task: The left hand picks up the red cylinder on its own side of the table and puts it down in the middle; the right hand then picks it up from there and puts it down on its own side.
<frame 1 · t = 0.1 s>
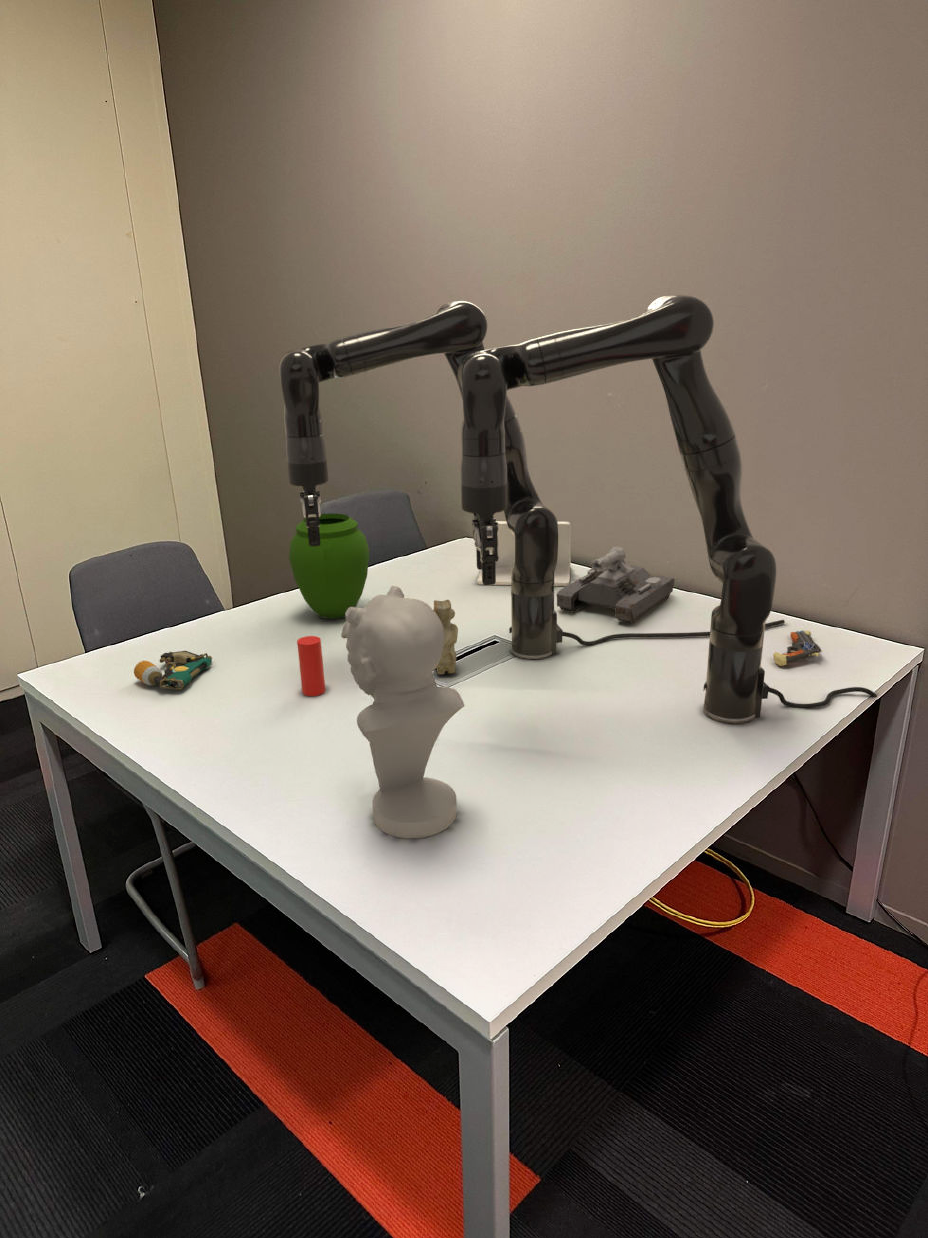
left hand: (314, 540, 170), 29 cm above the table, tool pointing down, fingers open, 8 cm apart
right hand: (486, 576, 144), 29 cm above the table, tool pointing down, fingers open, 8 cm apart
tablet stand: (525, 575, 239), on the table
spray gun: (177, 676, 181), on the table
red cylinder: (313, 691, 172), on the table
toy gun: (793, 652, 184), on the table
sculpture: (445, 671, 180), on the table
toy: (615, 605, 214), on the table
bust sculpture: (396, 807, 132), on the table
vase: (334, 614, 214), on the table
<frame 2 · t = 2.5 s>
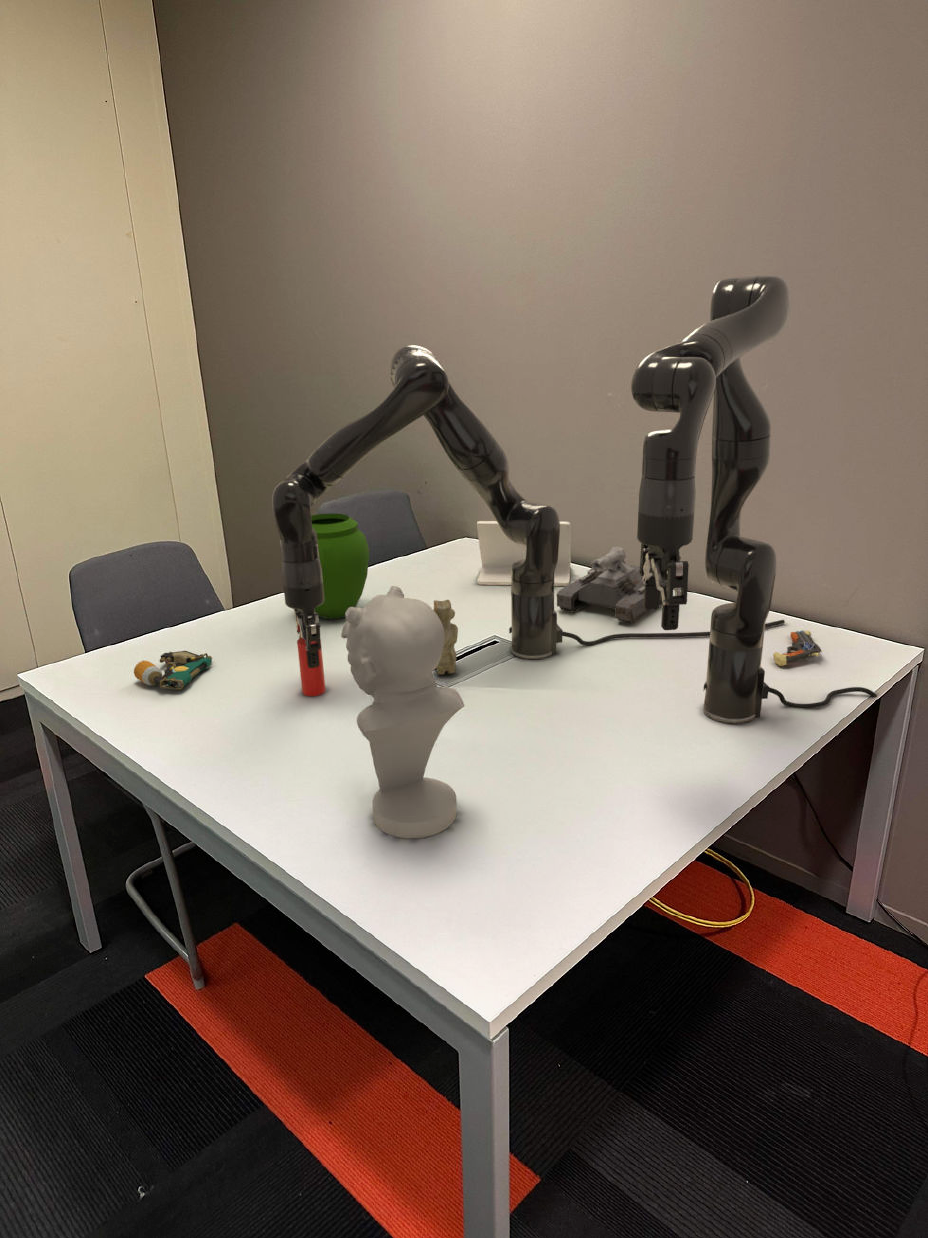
left hand: (311, 661, 170), 7 cm above the table, tool pointing down, fingers closed on red cylinder, 4 cm apart
right hand: (660, 618, 123), 29 cm above the table, tool pointing down, fingers open, 8 cm apart
red cylinder: (313, 691, 172), on the table, touching left hand
everything else where it was.
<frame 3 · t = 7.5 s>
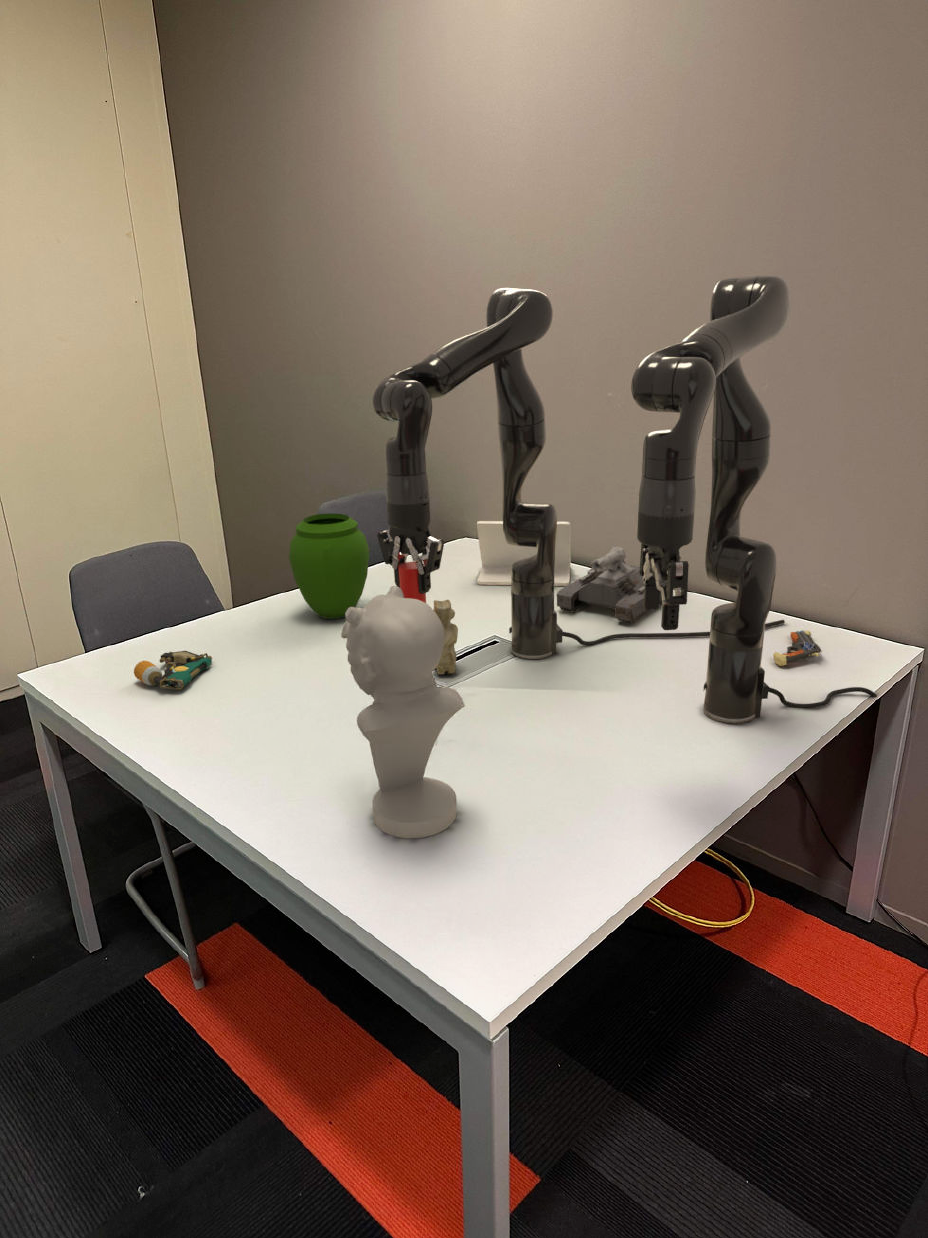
left hand: (413, 589, 155), 24 cm above the table, tool pointing down, fingers closed on red cylinder, 4 cm apart
right hand: (660, 618, 123), 29 cm above the table, tool pointing down, fingers open, 8 cm apart
red cylinder: (414, 623, 157), point 18 cm above the table, touching left hand
everything else where it was.
when the left hand's fingers open (8 cm above the table, at t = 12.4 s): red cylinder drops 2 cm, on the table.
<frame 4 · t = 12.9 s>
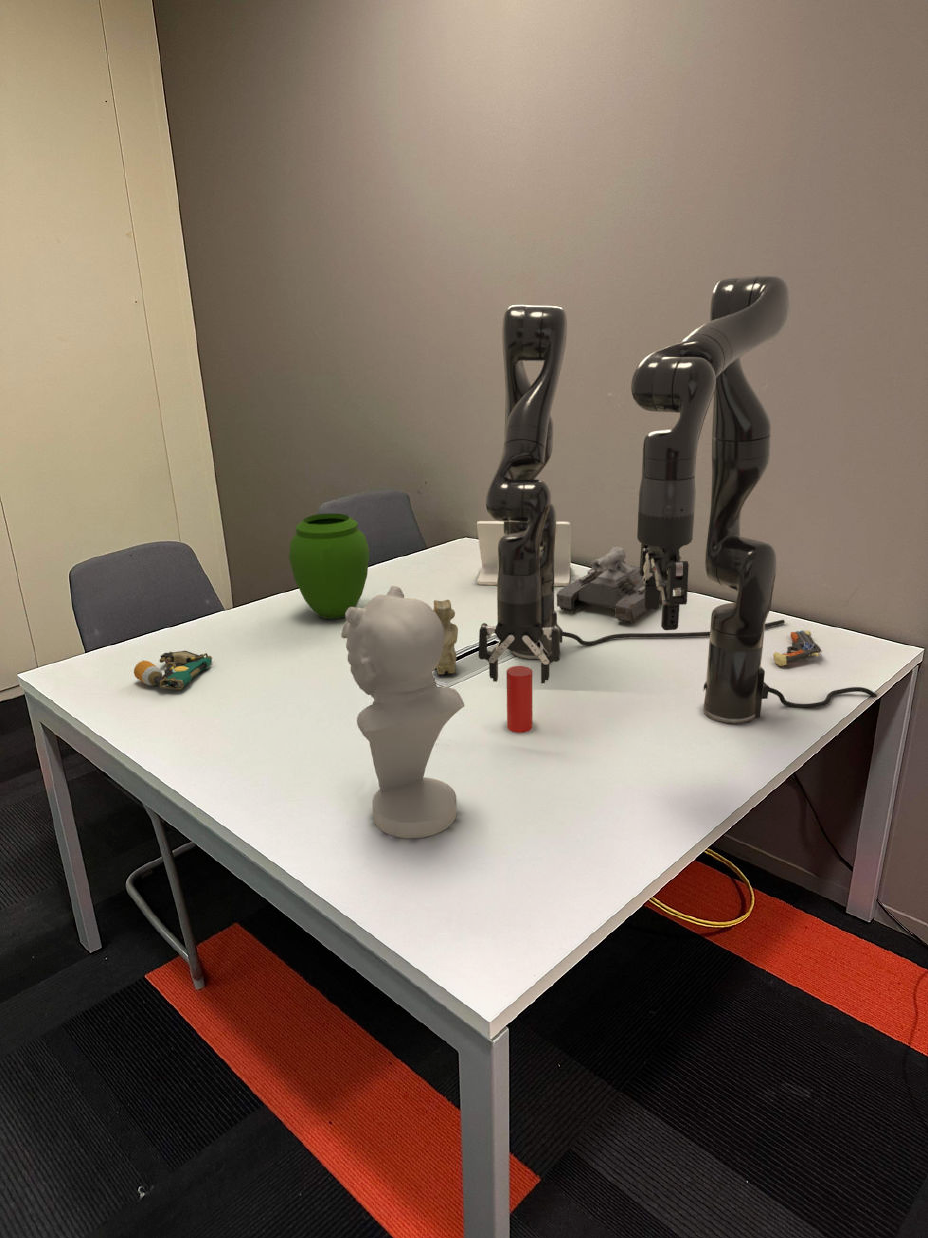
left hand: (519, 680, 152), 9 cm above the table, tool pointing down, fingers open, 8 cm apart
right hand: (660, 618, 123), 29 cm above the table, tool pointing down, fingers open, 8 cm apart
red cylinder: (519, 726, 155), on the table
everything else where it was.
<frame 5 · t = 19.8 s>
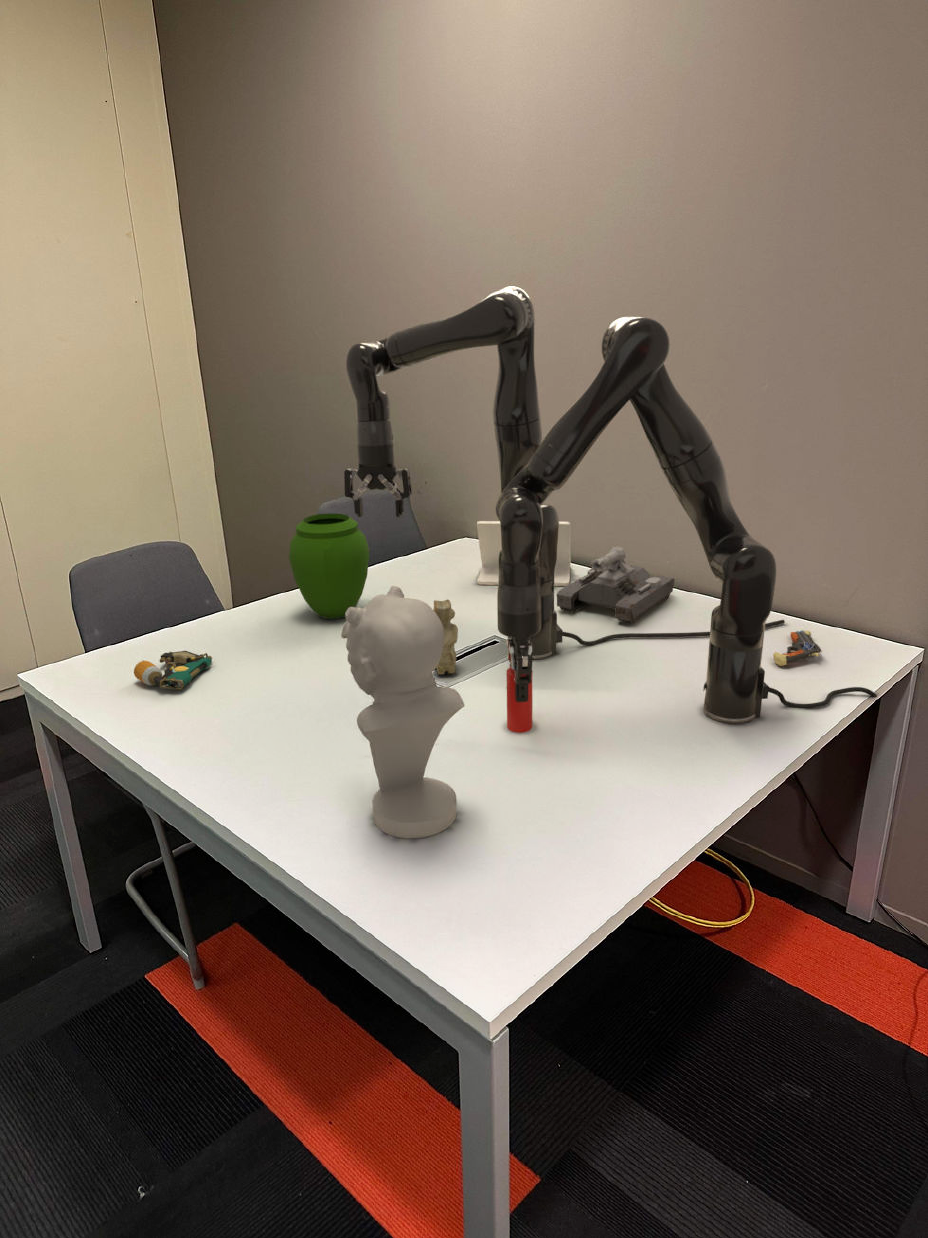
left hand: (379, 516, 186), 29 cm above the table, tool pointing down, fingers open, 8 cm apart
right hand: (519, 694, 153), 7 cm above the table, tool pointing down, fingers closed on red cylinder, 4 cm apart
red cylinder: (519, 726, 155), on the table, touching right hand
everything else where it was.
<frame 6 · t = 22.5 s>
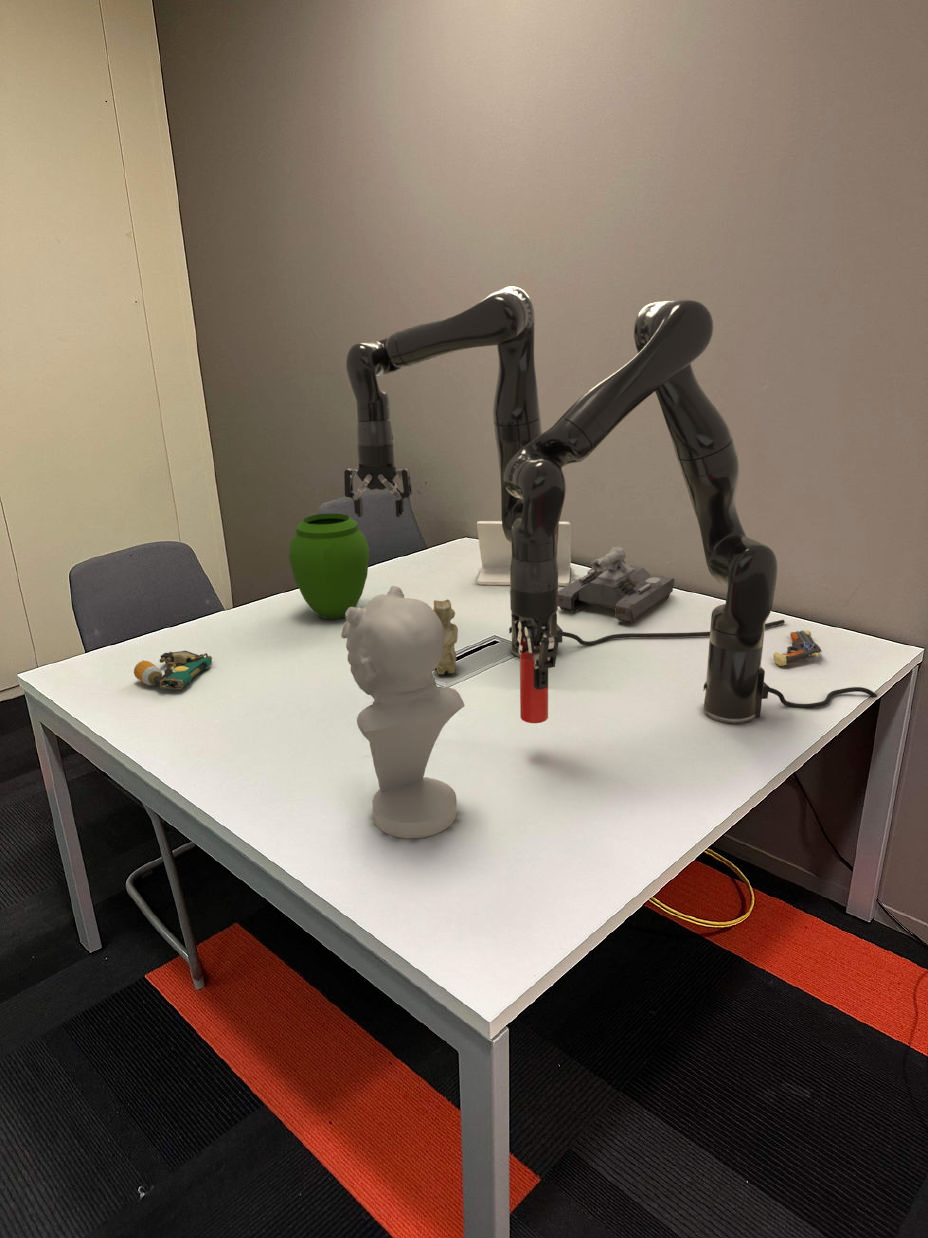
left hand: (379, 516, 186), 29 cm above the table, tool pointing down, fingers open, 8 cm apart
right hand: (534, 681, 140), 14 cm above the table, tool pointing down, fingers closed on red cylinder, 4 cm apart
red cylinder: (534, 717, 142), point 8 cm above the table, touching right hand
everything else where it was.
when the right hand's fingers open (8 cm above the table, at t = 25.5 s): red cylinder drops 1 cm, on the table.
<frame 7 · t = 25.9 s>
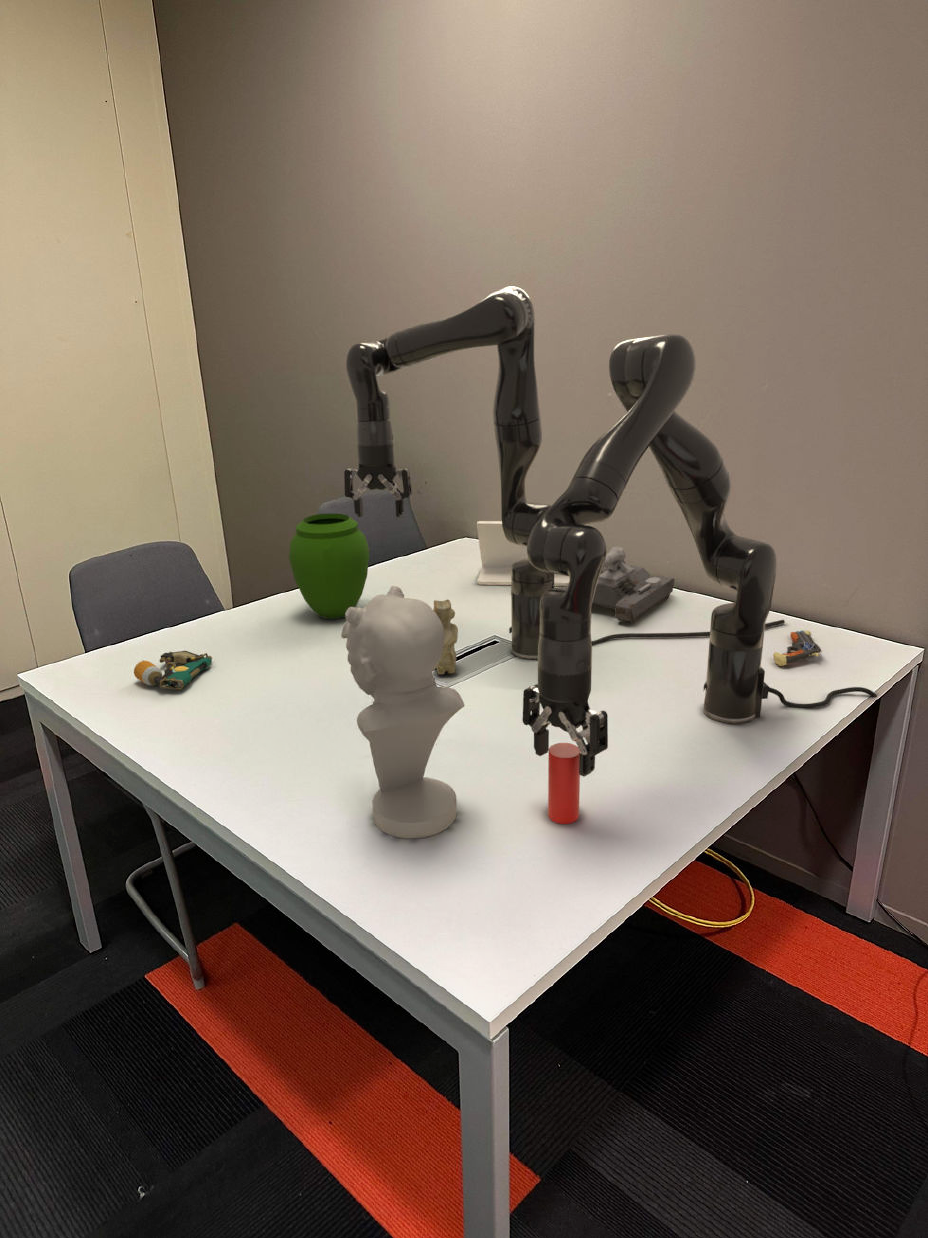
left hand: (379, 516, 186), 29 cm above the table, tool pointing down, fingers open, 8 cm apart
right hand: (563, 763, 125), 9 cm above the table, tool pointing down, fingers open, 8 cm apart
red cylinder: (563, 815, 129), on the table
everything else where it was.
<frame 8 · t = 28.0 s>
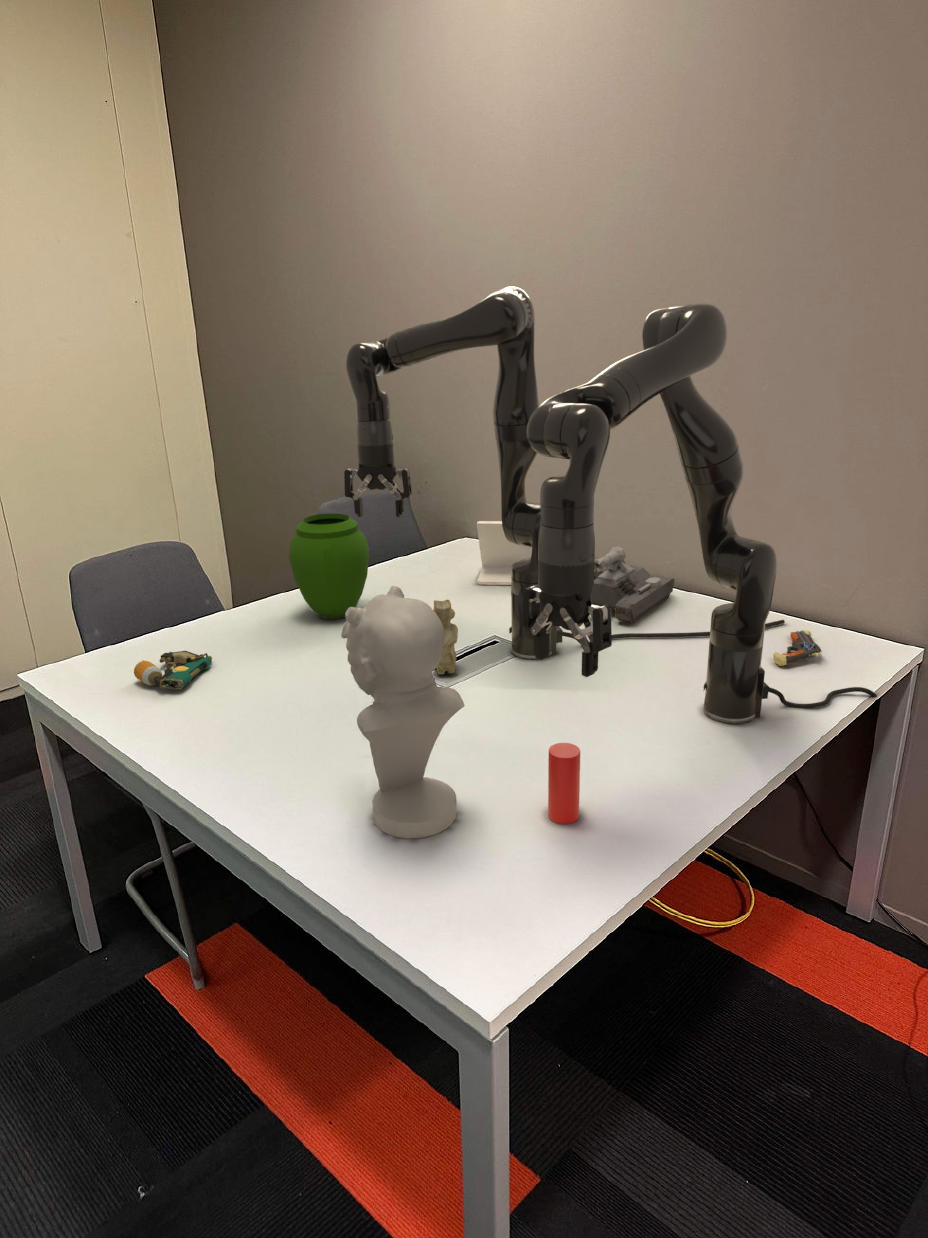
left hand: (379, 516, 186), 29 cm above the table, tool pointing down, fingers open, 8 cm apart
right hand: (564, 666, 120), 25 cm above the table, tool pointing down, fingers open, 8 cm apart
nothing on the table moved.
at the end: red cylinder inside the target area (0.2 cm from its centre), on the table; red cylinder tilted 0°; the two hands never held the red cylinder at the same time; the left hand is holding nothing; the right hand is holding nothing; red cylinder at rest at the end (0.0 cm/s) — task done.
